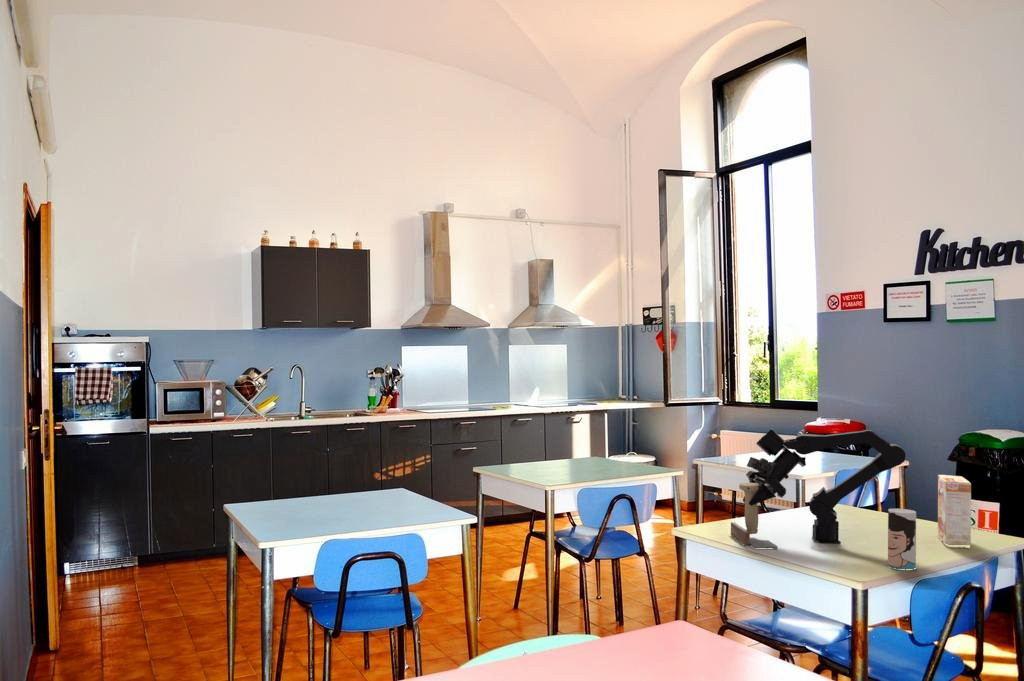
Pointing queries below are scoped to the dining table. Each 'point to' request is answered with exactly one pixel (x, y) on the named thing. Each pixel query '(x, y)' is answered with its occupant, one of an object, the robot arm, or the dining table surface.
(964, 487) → the coffeecake box
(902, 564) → the cup
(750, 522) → the handle
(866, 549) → the dining table surface
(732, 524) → the walnut fence
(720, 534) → the dining table surface
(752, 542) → the end pad
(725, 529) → the dining table surface
